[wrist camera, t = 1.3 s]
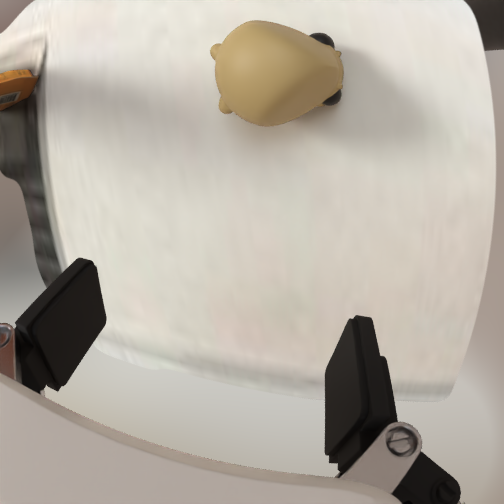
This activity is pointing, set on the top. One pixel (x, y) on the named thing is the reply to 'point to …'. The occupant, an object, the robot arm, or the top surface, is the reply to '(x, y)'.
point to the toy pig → (275, 72)
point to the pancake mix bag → (15, 87)
